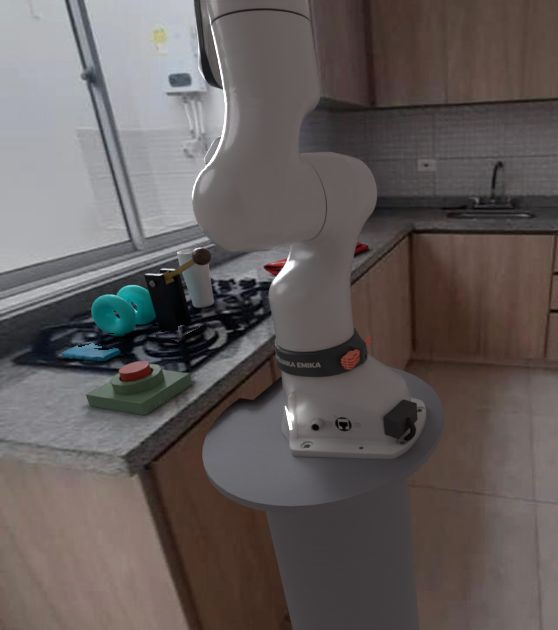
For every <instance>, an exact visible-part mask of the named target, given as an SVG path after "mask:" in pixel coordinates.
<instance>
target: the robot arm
mask: <svg viewBox="0 0 558 630" xmlns="http://www.w3.org/2000/svg"><path fill="white" fill-rule="evenodd" d="M193 10H194V19H195V28H196V37H197V68H198V71H199V73H200V75H201V76H202V78H203V80H204V81H205V82H206V84H208V86H209V87H212V88H215V89H219V90H222V91H223V97H224V122H223V128H222V134H221V135H220V136H217V137H216V138H215V139H213V141H212V143H211V145H210V146H209V148H208V150H207V152H206V154H205V155H204V158H203V161H204V164H205V167H204V168H203V169H202V170H201V171H200V172H199V174H198V176H197V177H196V180H195V182H194V185H193V189H192V194H191V205H192V211H193V215H194V218H195V220H196V223H197V226H198V227H199V228H200V230H201V231H202V233H203V234H204V235H205V237H206V238H207V239H208V240H209V241H210V242H211V243H212V244H214V246H216V247H218V248H219V249H221V250H222V251H225V252H228V253H253V252H255V253H257V252H259V253H260V252H269V251H273V250H277V249H281V248H284V247H288V246H290V247H289V252H288V255H287V257H286V258H287V261H286V263H285V265H284V267H283V268H282V270H281V271H280V272H279V273H278V275H276V276H275V277H274V278H273V280H272V281H271V284H270V286H269V290H268V301H269V302H268V303H269V307H270V313H271V318H272V324H273V330H274V334H275V339H274V342H273V345H274V346H273V347H274V352H275V359H276V365H277V368H278V369H279V370H280V371H281V377H282V383H283V415H282V421H281V431H282V433H283V435H284V436H285V437H286V438H287V440H288V441H289V443H290V453H291V454H292V455H293V456H300V457H330V458H360V459H395V458H397V457H399V456H401V455H402V454H404V453H405V452H406V451H408V450H409V449H410V448H411V447H412V446H413V444H414V443H415V442H416V441H417V439H418V438H419V436H420V434H421V432H422V430H423V428H424V426H425V423H426V418H427V412H426V407H425V404H424V402H423V401H422V400H419V399H415V398H411V396H410V392H409V388H408V385H407V383H406V381H405V379H404V378H403V377H402V376H401V375H399V374H398V373H396V372H395V371H393V370H392V369H390V368H389V367H390V366H388V365H386V364H385V363H383V362H381V361H380V360H378V359H377V358H376V357H374V356H373V355H372V354H370V353H369V352H368V347H369V346H370V344H371V343H372V340H371V337H372V335H371V334H369V335H368V336H366V337H365V339H363V338H362V337H361V335H360V334H359V332H358V331H357V328H355V326H354V316H353V304H352V303H353V301H352V292H351V291H352V290H351V289H352V288H351V279H352V269H353V264H354V263H353V262H354V257H355V254H354V253H355V249H356V245H357V242H359V238H360V235H361V233H362V230H363V228H364V226H365V224H366V222H367V221H368V219H369V218H370V217H371V216H372V214H373V212H374V211H375V208H376V206H377V201H378V186H377V183H376V179H375V176H374V174H373V173H372V170H371V169H370V168H369V167H368V165H367V164H366V163H365V162H364V161H363V160H361V159H360V158H358V157H356V156H351V155H348V154H343V153H338V152H333V151H318V152H317V151H315V152H300V137H301V128H302V125H303V121H304V119H305V118H306V117H307V116H308V115H310V114H312V112H313V111H314V110H315V109H316V107H317V106H318V104H319V103H320V99H321V97H322V85H321V78H320V77H321V76H320V71H319V66H318V60H317V59H318V58H317V53H316V48H315V41H314V35H313V29H312V23H311V17H310V11H309V6H308V2H307V0H193ZM387 366H388V367H387Z"/></svg>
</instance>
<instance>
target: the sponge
mask: <svg viewBox="0 0 558 630" xmlns="http://www.w3.org/2000/svg"><path fill="white" fill-rule="evenodd" d="M86 343H91V344H89V345H85V346H82V347H78V345H76V346H75V345H74V346H73V347H71V348H69V349H67V350H64V351H63V352H61V355H62V357H63V358H65V359H70V360H73V359H74V360H85V361H90V362H91V361H92V362H106V361H108V360H110V359H112V358H115V357H117V356H119V355H120V354H121V353H122V351H121V350H120V349H119V348H117V347H112V348H113V349H109V350H98V349H94V348H102V346H98V345H95V344H96V343H93V342H86Z"/></svg>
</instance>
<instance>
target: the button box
mask: <svg viewBox="0 0 558 630" xmlns="http://www.w3.org/2000/svg"><path fill="white" fill-rule="evenodd" d="M149 365H150V368H151V371H152V373H151V374H150V375H148V376H146V377H145V378H142V379H139V380H136V381H130V382H123V381H122V379H121V376H120V373H119V372H117V373H116V374H114V375H113V376H112V377H111V379H110V381H108V382H106V383H104V384H102V385H101V386H99V387H97V388H95V389H94V390H91V391H90V392H87V393H86V394H85V397H86V399H87V403H88V405H89V407H95V408H100V409H108V410H113V411H117V412H124V413H130V414H136V415H140V416H141V415H142V416H146V415H148V414H150V413H152V411H154V410H155V409H157V408H159V407H160V406H161V405H163V404H164V403H166V402H168V401H169V400H170V399H173V398H174V397H175V396H177V395H178V394H180V393H181V392H183V391H185V390H186V389H187V388H189V387H190V386H191V385H193V381H192V376H191V373H190V372H184V371H183V372H182V371H176V370H168V369H163V368H162V367H161V366H160V364H155V363H149Z"/></svg>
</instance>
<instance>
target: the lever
mask: <svg viewBox="0 0 558 630" xmlns="http://www.w3.org/2000/svg"><path fill="white" fill-rule="evenodd" d="M196 248H197V249H195V250H194V251H193V253H192V259H191V260H190V261H188V262H186V263H185V264H183V265H182V266H180V265H179V266H178V267H177V268H174V269H175V270H173V271H172V272H170V273H169V272H165V273H162V274H164V277H165V281H166V285H169V284H170V283H172V282H174V279H173V277H175V276H176V275H178V274H180V275H181V274H182V272H183V271H185V270H186V269H188V268H189V267H191V266H193V265H194V264H198V265H206V264H208V263H209V264H210V262H211V260H212V254H211V252H210V251H209V250H208V249H207V248H204V247H196Z"/></svg>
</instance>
